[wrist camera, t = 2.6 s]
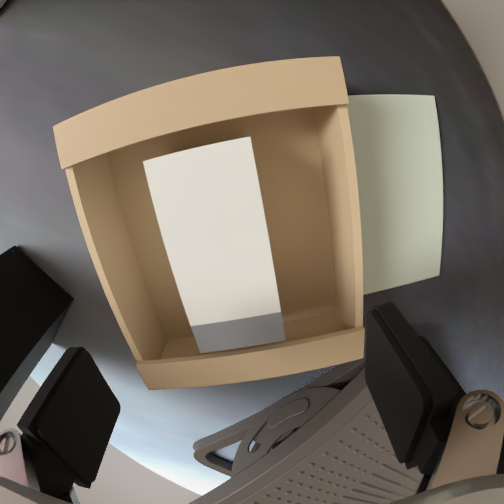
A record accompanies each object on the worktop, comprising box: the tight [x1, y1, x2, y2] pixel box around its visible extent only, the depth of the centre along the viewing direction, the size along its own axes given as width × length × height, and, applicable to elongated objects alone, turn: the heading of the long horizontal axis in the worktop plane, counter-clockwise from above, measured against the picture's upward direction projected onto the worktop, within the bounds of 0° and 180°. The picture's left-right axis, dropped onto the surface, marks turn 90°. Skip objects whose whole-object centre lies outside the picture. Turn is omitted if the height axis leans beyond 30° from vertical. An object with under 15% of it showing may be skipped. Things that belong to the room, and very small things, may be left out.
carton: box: [53, 56, 365, 390], centre depth 18 cm, size 18×15×6 cm
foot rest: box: [190, 346, 423, 504], centre depth 27 cm, size 39×30×13 cm
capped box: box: [143, 137, 286, 353], centre depth 17 cm, size 11×5×6 cm, turn 10°
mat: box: [347, 94, 443, 295], centre depth 20 cm, size 15×9×1 cm, turn 10°
